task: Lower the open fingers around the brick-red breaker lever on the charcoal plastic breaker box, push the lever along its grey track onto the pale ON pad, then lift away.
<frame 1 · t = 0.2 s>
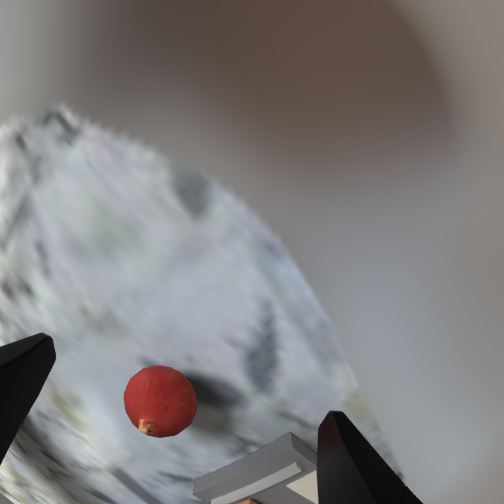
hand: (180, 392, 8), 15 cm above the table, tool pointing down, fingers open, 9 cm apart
breaker box: (287, 491, 25), on the table
pomegranate: (172, 378, 24), on the table
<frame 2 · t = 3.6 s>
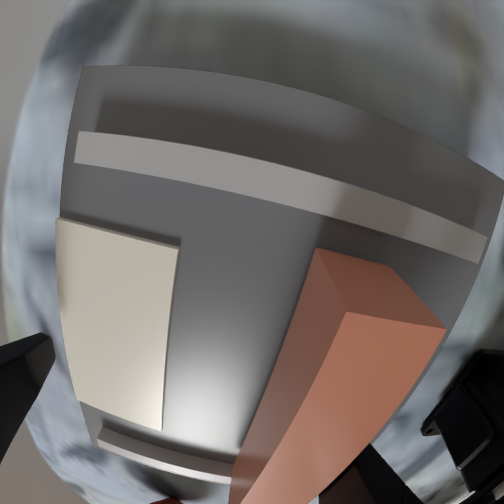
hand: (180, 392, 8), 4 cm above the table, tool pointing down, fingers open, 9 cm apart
breaker box: (246, 337, 11), on the table
lever: (295, 437, 7), point 5 cm above the table, slide at 0.8 cm, touching gripper
pomegranate: (174, 496, 18), on the table
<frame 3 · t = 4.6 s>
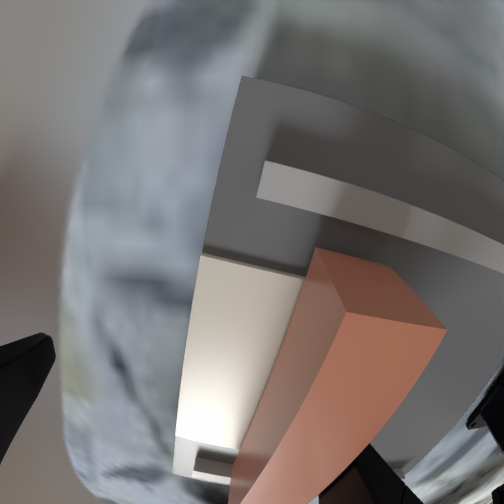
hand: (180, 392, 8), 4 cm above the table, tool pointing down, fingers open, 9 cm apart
breaker box: (353, 356, 11), on the table
lever: (295, 437, 7), point 5 cm above the table, slide at 5.4 cm, touching gripper
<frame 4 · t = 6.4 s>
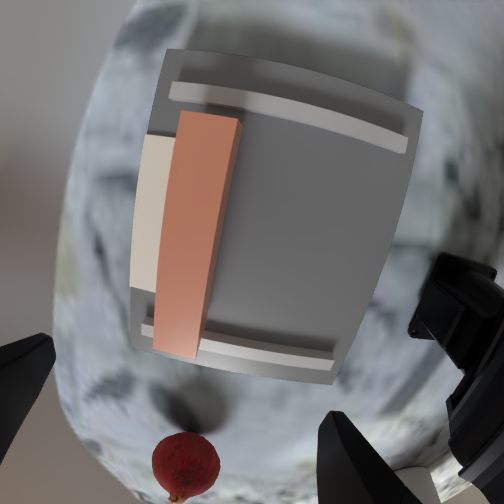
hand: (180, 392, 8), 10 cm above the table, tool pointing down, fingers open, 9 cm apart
cylinder vase: (387, 484, 28), on the table
breaker box: (262, 227, 17), on the table
lever: (193, 239, 12), point 5 cm above the table, slide at 5.5 cm
pomegranate: (193, 431, 23), on the table
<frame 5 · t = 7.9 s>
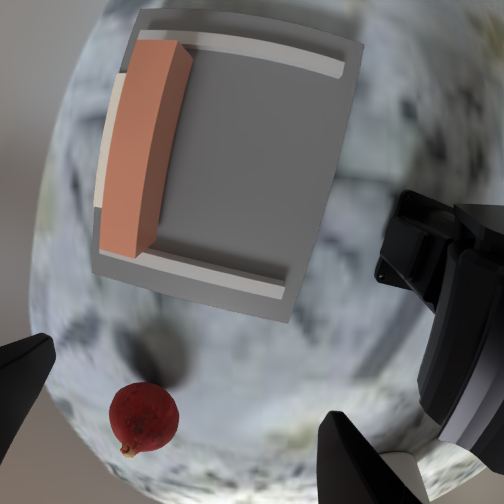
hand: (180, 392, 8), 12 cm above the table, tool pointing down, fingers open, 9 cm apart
cylinder vase: (370, 472, 28), on the table
breaker box: (217, 155, 17), on the table
lever: (142, 146, 13), point 5 cm above the table, slide at 5.5 cm
pomegranate: (156, 385, 24), on the table
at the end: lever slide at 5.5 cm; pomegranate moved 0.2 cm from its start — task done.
